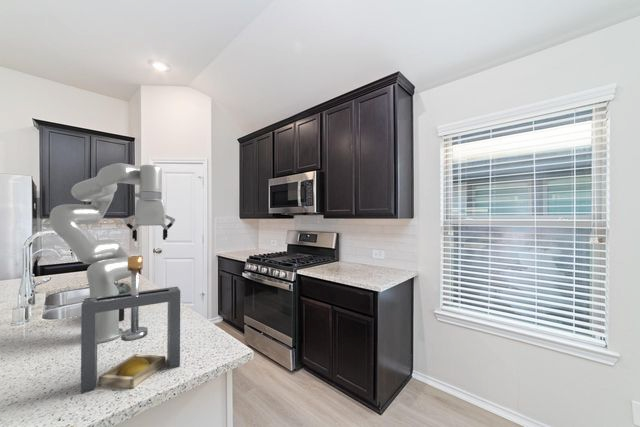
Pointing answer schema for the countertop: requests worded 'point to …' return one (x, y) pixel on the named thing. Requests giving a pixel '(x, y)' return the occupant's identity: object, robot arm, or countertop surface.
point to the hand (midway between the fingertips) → (150, 240)
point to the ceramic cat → (121, 291)
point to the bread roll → (133, 367)
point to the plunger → (134, 332)
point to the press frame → (121, 302)
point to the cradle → (131, 382)
